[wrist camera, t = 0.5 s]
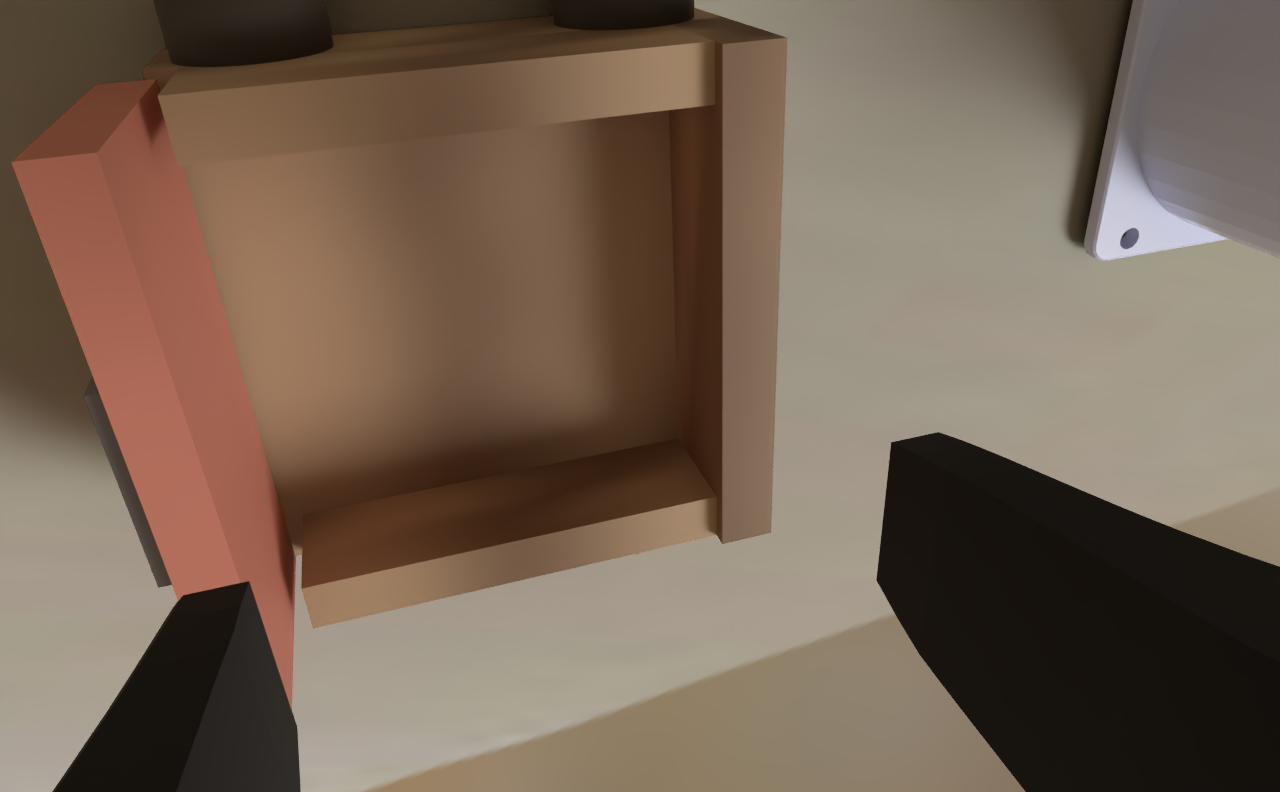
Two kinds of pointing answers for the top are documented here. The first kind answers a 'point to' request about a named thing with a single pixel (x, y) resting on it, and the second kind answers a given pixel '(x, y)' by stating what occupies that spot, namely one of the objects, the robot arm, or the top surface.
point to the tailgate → (160, 352)
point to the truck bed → (490, 280)
